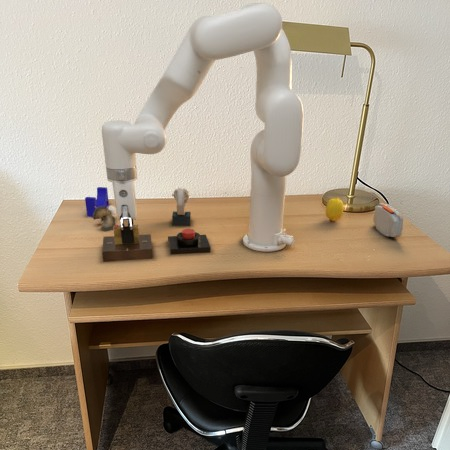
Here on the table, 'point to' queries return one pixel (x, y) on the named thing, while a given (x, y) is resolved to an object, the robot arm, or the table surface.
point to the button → (188, 233)
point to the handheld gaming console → (388, 220)
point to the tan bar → (118, 234)
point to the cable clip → (97, 201)
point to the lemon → (334, 209)
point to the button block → (188, 244)
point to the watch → (181, 208)
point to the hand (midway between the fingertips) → (128, 235)
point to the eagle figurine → (105, 216)
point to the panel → (127, 249)
